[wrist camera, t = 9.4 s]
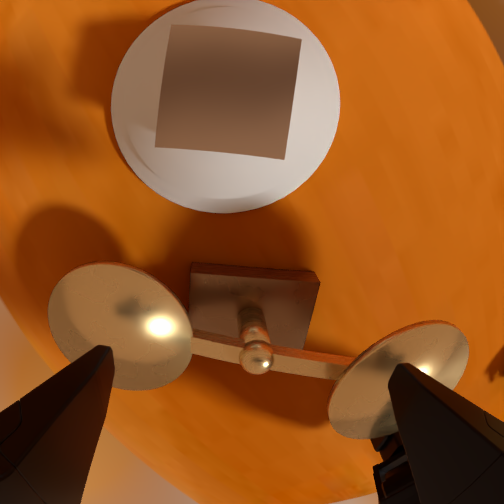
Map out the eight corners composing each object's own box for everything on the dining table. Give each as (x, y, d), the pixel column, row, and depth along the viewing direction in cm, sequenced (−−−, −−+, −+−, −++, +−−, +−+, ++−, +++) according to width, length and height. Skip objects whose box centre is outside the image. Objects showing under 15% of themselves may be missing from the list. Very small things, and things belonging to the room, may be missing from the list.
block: (266, 149, 17) (284, 160, 12) (173, 140, 16) (154, 147, 11) (279, 61, 15) (301, 39, 10) (185, 51, 14) (171, 24, 9)
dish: (347, 22, 15) (355, 16, 14) (317, 221, 20) (323, 227, 19) (132, -2, 13) (126, -10, 12) (108, 202, 18) (101, 207, 17)
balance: (421, 260, 22) (491, 321, 14) (385, 354, 25) (428, 426, 17) (68, 229, 18) (-2, 293, 11) (83, 339, 22) (45, 420, 14)
